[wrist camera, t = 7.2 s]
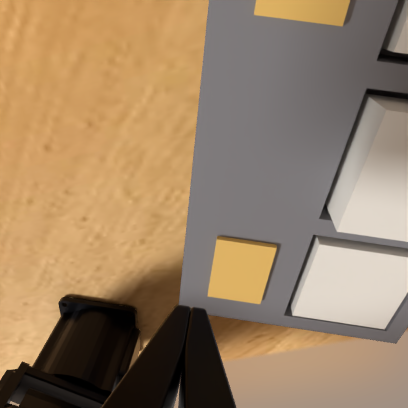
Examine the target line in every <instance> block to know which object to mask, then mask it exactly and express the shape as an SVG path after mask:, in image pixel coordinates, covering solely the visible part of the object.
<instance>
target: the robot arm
mask: <svg viewBox="0 0 408 408" xmlns="http://www.w3.org/2000/svg"><path fill="white" fill-rule="evenodd" d="M59 308H60V314H61V317H60V319H59V321H58V322H57V324H56V326H55V328H54V329H53V331H52V333H51V335H50V336H49V338H48V340H47V342H46V343H45V345H44V347H43V349H42V350H41V352H40V354H39V356H38V357H37V359H36V361H35V363H34V364H33V366H32V367H31V366H29V365H30V364H28V363H25V362H23V361H22V363H21V364H20V366H19V368H18V369H15V370H7V371H6V372H5V374H4V375H3V377H2V378H1V380H0V408H174V404H175V401H176V397H177V393H178V389H179V384H180V389H179V406H178V408H236V405H235V402H234V399H233V395H232V392H231V389H230V385H229V382H228V379H227V376H226V373H225V369H224V366H223V363H222V359H221V356H220V353H219V350H218V346H217V343H216V340H215V337H214V333H213V330H212V327H211V324H210V320H209V317H208V314H207V311H206V309H204V308H199V307H192V308H190V307H189V306H185V305H176V306H175V307H174V308H173V310H172V311H171V313H170V314H169V315H168V317H167V318H166V319H165V321H164V322H163V323H162V325H161V326H160V328H159V329H158V330H157V332H156V333H155V334H154V336H153V337H152V339H151V340H150V341H149V343H148V344H147V345H146V347H145V348H144V350H143V351H142V352H141V354H140V355H139V356H138V354H139V351H140V332H141V331H140V330H139V328H137V311H136V309H135V308H133V307H127V306H121V305H114V304H108V303H101V302H95V301H88V300H82V299H75V298H69V297H63V298H61V300H60V301H59ZM180 379H181V380H180ZM10 401H12V402H15V403H17V404H20V405H19V407H18V406H15V405H12V404H9V403H10Z"/></svg>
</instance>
